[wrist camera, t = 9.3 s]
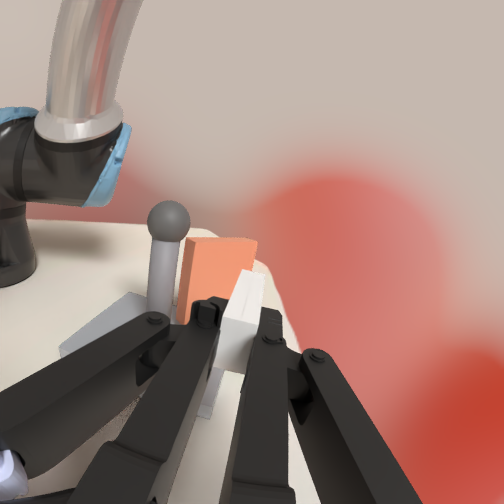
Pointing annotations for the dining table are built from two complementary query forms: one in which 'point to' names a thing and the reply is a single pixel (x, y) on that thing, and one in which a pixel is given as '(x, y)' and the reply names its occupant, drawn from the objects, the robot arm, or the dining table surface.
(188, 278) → the lever
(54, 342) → the dining table surface
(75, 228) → the dining table surface
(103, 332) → the grey flat block
